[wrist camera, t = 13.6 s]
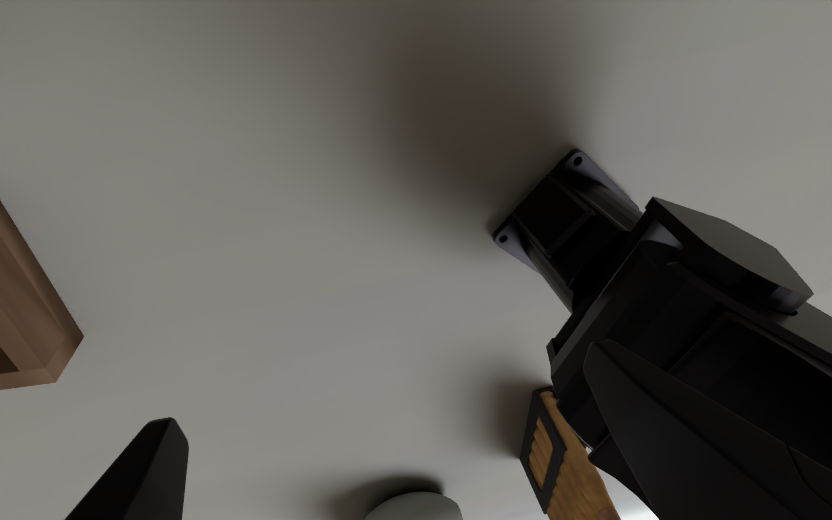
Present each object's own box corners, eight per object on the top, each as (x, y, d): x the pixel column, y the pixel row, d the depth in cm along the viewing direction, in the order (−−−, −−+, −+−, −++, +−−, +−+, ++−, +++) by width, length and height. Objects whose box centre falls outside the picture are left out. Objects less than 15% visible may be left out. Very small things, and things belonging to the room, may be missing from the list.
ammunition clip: (533, 389, 33) (623, 560, 24) (554, 385, 33) (652, 552, 24) (519, 459, 39) (586, 617, 30) (537, 455, 40) (609, 609, 30)
